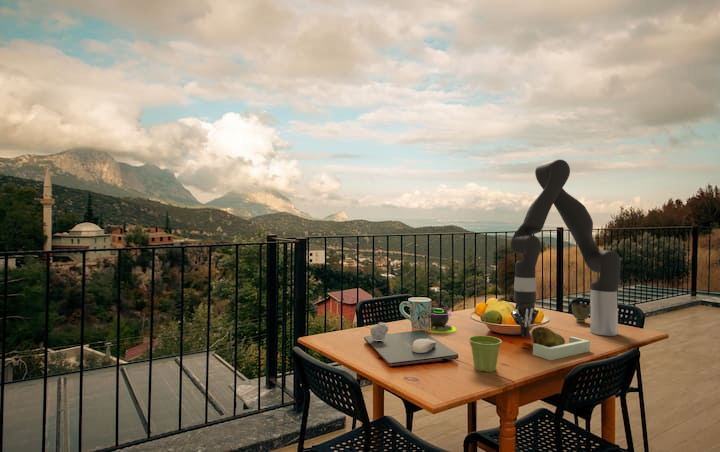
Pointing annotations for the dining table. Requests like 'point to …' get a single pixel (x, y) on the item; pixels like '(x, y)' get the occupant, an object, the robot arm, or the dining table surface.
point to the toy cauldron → (440, 321)
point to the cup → (580, 312)
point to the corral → (562, 349)
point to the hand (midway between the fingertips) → (524, 336)
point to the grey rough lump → (379, 331)
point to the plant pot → (485, 352)
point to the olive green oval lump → (546, 337)
